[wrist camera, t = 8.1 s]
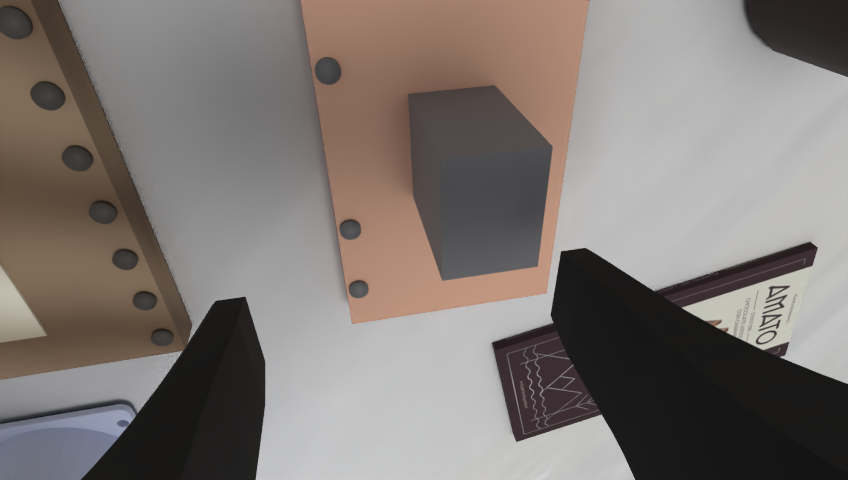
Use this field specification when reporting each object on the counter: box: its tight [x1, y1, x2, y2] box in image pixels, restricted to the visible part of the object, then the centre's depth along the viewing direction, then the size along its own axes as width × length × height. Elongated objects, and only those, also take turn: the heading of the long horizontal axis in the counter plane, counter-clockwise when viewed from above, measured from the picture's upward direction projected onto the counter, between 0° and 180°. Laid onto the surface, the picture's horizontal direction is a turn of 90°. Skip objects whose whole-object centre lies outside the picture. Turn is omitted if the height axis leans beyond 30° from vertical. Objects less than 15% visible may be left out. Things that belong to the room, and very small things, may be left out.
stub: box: [301, 0, 589, 324], centre depth 17 cm, size 16×9×6 cm, turn 2°
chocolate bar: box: [492, 242, 818, 442], centre depth 30 cm, size 9×1×18 cm
